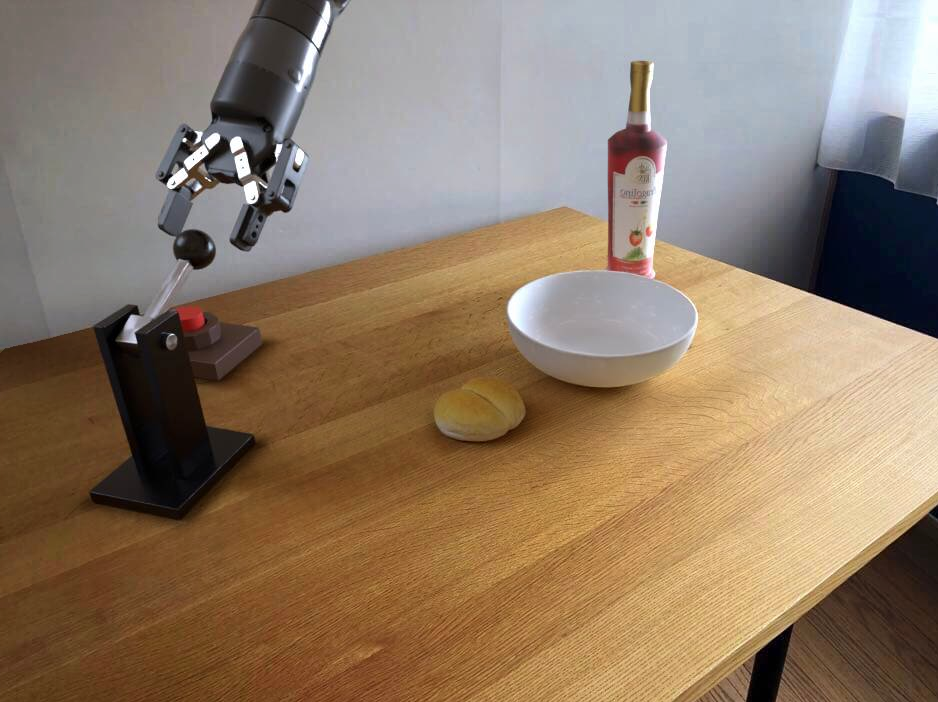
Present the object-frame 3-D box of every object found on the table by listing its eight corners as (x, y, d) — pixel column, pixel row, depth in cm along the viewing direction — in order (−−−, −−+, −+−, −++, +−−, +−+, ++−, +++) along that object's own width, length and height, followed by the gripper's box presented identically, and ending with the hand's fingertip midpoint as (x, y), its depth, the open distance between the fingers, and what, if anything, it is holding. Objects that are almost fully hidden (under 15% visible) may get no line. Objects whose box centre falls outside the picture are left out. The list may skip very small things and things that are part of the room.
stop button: (164, 331, 96) (161, 317, 95) (184, 318, 99) (181, 304, 98) (192, 336, 95) (189, 321, 94) (211, 321, 98) (208, 308, 97)
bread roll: (419, 423, 87) (416, 389, 85) (485, 391, 92) (484, 358, 90) (472, 457, 82) (470, 421, 80) (539, 421, 87) (540, 387, 85)
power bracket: (176, 429, 86) (137, 283, 77) (256, 444, 83) (225, 295, 75) (92, 502, 76) (36, 343, 67) (180, 520, 74) (134, 359, 65)
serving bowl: (507, 414, 88) (506, 355, 84) (507, 322, 106) (506, 270, 102) (708, 411, 89) (716, 352, 85) (675, 320, 106) (680, 268, 103)
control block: (124, 366, 96) (115, 334, 94) (174, 331, 104) (166, 300, 102) (218, 381, 94) (210, 348, 92) (262, 344, 101) (256, 313, 99)
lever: (195, 246, 80) (176, 218, 77) (229, 250, 79) (212, 222, 76) (126, 360, 73) (103, 334, 70) (162, 366, 73) (140, 340, 70)
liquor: (650, 270, 120) (666, 56, 105) (660, 292, 113) (679, 68, 99) (598, 272, 119) (606, 57, 104) (605, 294, 113) (616, 69, 98)
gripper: (349, 114, 81) (288, 270, 79) (233, 99, 87) (172, 245, 84) (305, 65, 74) (236, 234, 72) (182, 51, 80) (114, 209, 77)
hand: (202, 240), depth 78 cm, fingers open, 8 cm apart
